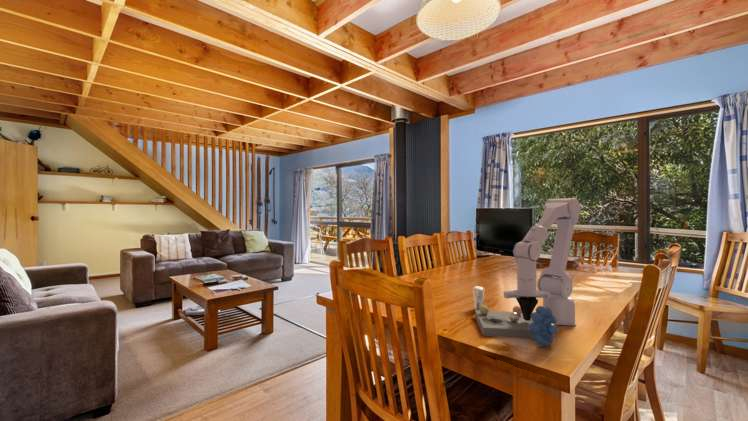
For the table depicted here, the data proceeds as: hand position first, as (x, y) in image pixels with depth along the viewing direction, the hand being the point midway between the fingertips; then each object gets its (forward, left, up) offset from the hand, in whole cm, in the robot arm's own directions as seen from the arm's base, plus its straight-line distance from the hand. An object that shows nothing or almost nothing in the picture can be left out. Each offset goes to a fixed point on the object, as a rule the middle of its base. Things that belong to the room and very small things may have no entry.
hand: (526, 319), depth 107 cm
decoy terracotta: (+1, -8, +1) cm, 8 cm away
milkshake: (+12, -20, -4) cm, 24 cm away
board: (+5, -2, -3) cm, 7 cm away
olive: (+12, -7, +1) cm, 14 cm away
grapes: (-1, +14, -4) cm, 14 cm away
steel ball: (+4, 0, +1) cm, 4 cm away
